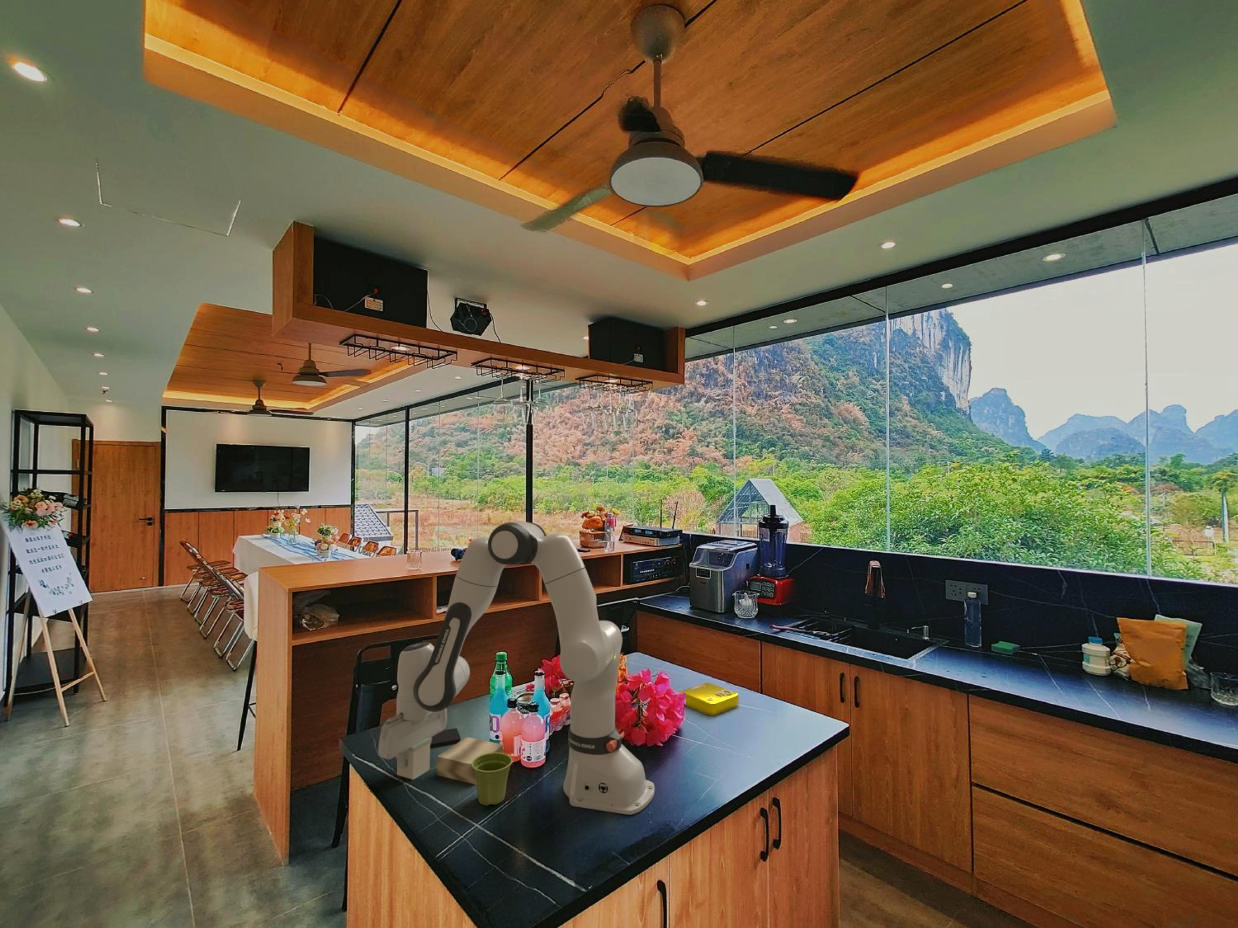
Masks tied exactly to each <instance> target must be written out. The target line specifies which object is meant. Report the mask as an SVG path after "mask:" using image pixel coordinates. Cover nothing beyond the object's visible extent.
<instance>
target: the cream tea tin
mask: <svg viewBox="0 0 1238 928" xmlns="http://www.w3.org/2000/svg"><path fill="white" fill-rule="evenodd" d="M430 743H431V738H426V739H424V740H422V741H420V742H418V743H416V744H415V745H413V746H411V747H410V749H408V750H406V751H405V755H404V756H403V757H404V759H407V760H408V763H407V764H408V766H407V767H405V768H404V769H400V768H399V767H398V760H397V759H396V764H397V765H396V775H397V776H400V777H403V778H407V779H410V780H415V779H417V778H419V777H420V776H422V775H423V774H425V773H427V772H428V771H430V770H431V769H430V768H431V767H430V766H431V765H430V764H431V760H430V759H431V748H430Z"/></svg>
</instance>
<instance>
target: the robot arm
mask: <svg viewBox="0 0 1238 928" xmlns="http://www.w3.org/2000/svg"><path fill="white" fill-rule="evenodd" d="M577 549H578V548H577V547H576V546H575V544H574V542H573V540H572V539H571V538H570V537H569V535H567V534H565V533H557V532H555V533H551V534H548V535H547V533H546V531H545V529H544V528H543V527H542V526H540V525H539V524H537V523H535V522H531V521H522V520H517V521H511V522H509V521H508V522H504V523H502V524H499V525H498V526H496V528H494V529H493V531H492V532H491V533H490V535H489V537H486V536H485V537H478V538H475V539H473V540H471V541H470V543H469V544H468V545H467V548H466V550H465V552H464V553H463V555H462V558H461V560H460V563H459V566H458V569H457V571H456V574H455V576H454V577H455V578H454V581H453V584H452V585H453V586H452V589H451V592H450V597H449V602H448V604H447V608H446V612H445V615H444V620H443V622H442V625H441V627H440V631H439V632H438V636H437V639H436V642H435V645H433V644H432V643H431V642H428V641H421V642H416V643H413V644H410V645H408V646H406V647H405V648H404V649H403V650H402V651H401V652H400V653H399V658H398V662H397V672H396V673H397V675H396V676H397V677H396V678H397V679H396V681H397V685H398V691H397V694H396V713H395V714H396V715H394V716H393V717H389V718H387V719H386V720H385V722H384V723H383V724H382V726H381V728H380V729H381V730H380V735H379V741H378V747H377V748H378V751H377V755H378V756H379V757H380V758H382V759H385V760H392V759H394V758H396V761H397V760H398V767H399V768H400V769H404V768H405V767H407V766H408V764H407V763H408V760H407V759H404V757H403V756H404V755H405V751H406V750H408V749H410V747H411V746H413V745H415V744H416V743H418V742H420V741H422V740H424V739H426V738H431V741H432V736H434V735H436V734H438V733H439V732H441V731H443V730H446V727H447V723H448V709H447V708H448V707H449V706H450V705H451V704H452V701H454V699H455V697H456V696H458V694H459V693H460V692H461V691H462V690H463V688H464V687H465V686H466V684H467V683H468V682H469V680H470V676H471V668H470V664H469V663H468V661H467V660H466V659H465V658H464V656H463V657H462V655H461V656H460V654H461V652H462V649H463V647H464V646H463V645H464V643H465V639H466V638H467V635H468V634H469V632H470V631H471V629H472V628H473V626H475V624H476V623H477V621H478V620H479V619H480V618H481V617H482V616H483V615H484V614H485V613H486V612H487V610H488V609H489V608H490V605H491V604H492V602H493V599H494V597H495V595H496V593H497V589H498V585H499V582H500V578H501V576H502V573H503V570H504V568H505V567H506V566H510V567H511V566H523V565H530V564H531V565H532V564H533V565H534V566H535V567H536V568H537V569H538V570H539V573H540V575H541V578H542V581H543V583H544V587H545V589H546V592H547V594H548V597H549V599H550V603H551V606H552V607H553V612H554V615H555V619H556V623H557V625H556V626H557V631H558V637H559V645H560V654H559V666H560V669H561V671H562V673H563V674H564V676H565V677H566V678H568V679H569V680H571V681H572V682H574V684H573V688H572V691H571V694H570V714H569V715H570V716H569V717H570V718H569V719H570V726H569V727H568V735H567V736H568V739H567V741H568V742H567V743H568V744H567V745H568V749H569V753H568V763H567V768H566V774H565V778H564V782H563V786H562V790H563V792H564V794H565V795H566V797H568V799H569V805H571V806H572V807H577V808H582V809H583V808H584V809H590V810H596V811H603V812H610V813H616V814H621V815H630V816H631V815H635V814H637V813H639V812H641V811H642V810H644V809H645V808H646V807H647V806H648V805H649V804H650V803H651V801H652V800H653V798H654V796H655V793H656V788H655V784H654V783H653V781H650V780H649V779H646V773H645V769H644V765H643V763H642V762H641V760H639V759H638V758H637V757H636V756H635V755H634V754H633V753H632V752H631V751H629V750H628V749H627V748H626V747H625V745H624V744H622V740H623V738H624V737H625V731H622V732H621V733H619V731H618V729H617V727H616V725H615V724H616V692H617V691H616V689H617V683H618V678H619V677H618V676H619V670H620V669H619V668H620V658H621V649H622V645H623V635H622V631H621V630H620V628H619V627H618V626H617V624H615V623H614V622H612V621H610V620H599V613H598V608H597V594H596V592H595V589H594V587H593V584H592V582H591V579H590V577H589V574H588V571H587V569H586V565H585V564H584V561H583V559H582V557H581V555H580V553H579V551H578V550H577ZM430 744H431V743H430Z"/></svg>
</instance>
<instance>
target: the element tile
mask: <svg viewBox="0 0 1238 928" xmlns="http://www.w3.org/2000/svg"><path fill="white" fill-rule="evenodd" d="M681 693H686V706H685V707H687V708H690V709H692V710H695V711H697V712H699V713H702V714H704V715H708V716H710V717H711V716H718V715H720V714H723V713H725V712H728V711H731V710H732V709H735V708H737V707H739V693H738V692H736V691H733V690H730V689H728V688H725V687H722V686H719V685H717V684H714V683H710V682H704V683H702V684H698V685H696V686H692V687H689V688H687V689H684V690H682V691H681V692H680V694H681Z"/></svg>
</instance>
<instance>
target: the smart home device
mask: <svg viewBox="0 0 1238 928" xmlns="http://www.w3.org/2000/svg"><path fill="white" fill-rule="evenodd" d="M460 741H461V736H460V733H459V730H458V728H455V727H454V728H449V729H444V730H443V731H441V732H439V733H438V734H436V735H434V736H432V741H431V744H430V749H433V748H438V747H439V748H440V747H445V746H450V745H455V744H457V743H458V742H460Z"/></svg>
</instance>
